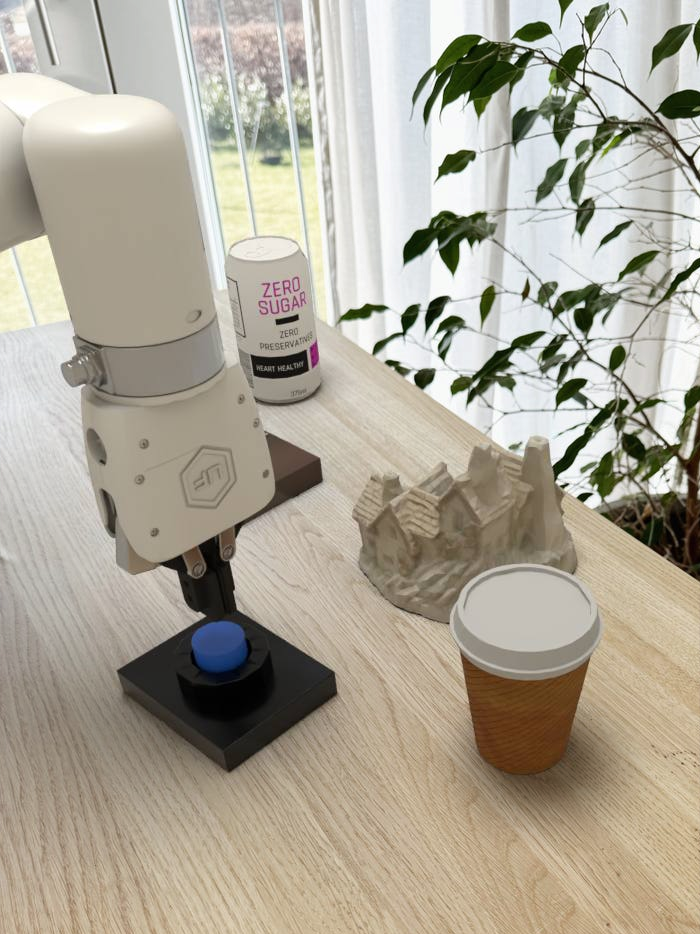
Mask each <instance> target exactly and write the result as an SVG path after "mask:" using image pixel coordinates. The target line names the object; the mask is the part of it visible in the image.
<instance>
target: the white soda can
mask: <svg viewBox="0 0 700 934" xmlns="http://www.w3.org/2000/svg"><path fill="white" fill-rule="evenodd" d="M223 269H224V274H225V281H226V287H227V292H228V298H229V304H230V305H229V306H230V310H231V311H230V312H231V316H232V321H233V327H234V335H235V339H236V345H237V351H238V357H239V358H238V359H239V363H240V365H241V367H242V369H243V372H244V374H245V376H246V379H247V381H248V384H249V386H250V389H251V391H252V394H253V397H254V399H257V400H258V401H262V402H265V403H269V404H288V403H294V402H297V401H298V402H299V401H301V400H303V399H306V398H309V397H310V396H311V395H312V394H313V393H314V392H315V391H316V390H317V388H318V387H319V386H320V385H321V382H322V371H321V361H320V354H319V345H318V337H317V336H318V335H317V327H316V319H315V318H316V317H315V309H314V300H313V292H312V291H313V290H312V282H311V274H310V273H311V272H310V264H309V260H308V257H307V256H306V255H305V253H304V251H303V250H302V248H301V244H300V243H299V241H297V240H296V239H294V238H292V237H288V236H284V235H275V234H274V235H273V234H265V235H254V236H250V237H245V238H242V239H239V240H236V241H235V242H233V243H231V244H230V245H229V246H228V249H227V255H226V258H225V260H224V264H223Z"/></svg>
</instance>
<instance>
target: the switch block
mask: <svg viewBox="0 0 700 934" xmlns="http://www.w3.org/2000/svg"><path fill="white" fill-rule="evenodd" d="M221 621H227V622H232V623H235V624H237V625H239V626H240V627H241V628H242V629H243V631H244V634H245V639H246V644H247V649H248V656H247V659H246V661H245V662H244V663H243V664H241V665H240V666H238V667H237V668H235V669H233V670H229V671H224V672H220V673H213V672H206V671H204V670H202V669H201V668H199V666H198V665H197V663H196V660H195V656H194V652H193V648H192V643H191V641H192V637H193V635H194V634H195V632H196V631H197V630H198V629H200V628H201V627H203V626H205V625H207V624H210V623H213V622H215V621H213V620H212V619H210V618H209V617H207V616H204V617H202V618H201V619H199V620H196V621H195V622H194V623H192V624H191V625H189V626H188V627H186V628H184V629H182V630H180V631H179V632H178V633H175V634H174V635H173V636H171V637H169V638H168V639H166V640H165V641H162V642H161V643H159V644H158V645H156V646H154V647H153V648H151V649H149V650H148V651H146V652H145V653H143V654H141V655H140V656H138V657H136V658H134V659H133V660H131V661H129V662H128V663H126V664H125V665H123V666H121V667H120V668H118V669H116V673H117V677H118V680H119V682H120V683H119V684H120V685H121V686H120V687H121V689H122V691H123V694H125V695H127V697H129V698H130V699H131V700H132V701H134V702H135V703H137V704H138V705H139V706H141V708H143V709H145V710H146V711H147V712H148V713H149V714H151V715H152V716H154V717H155V718H157V719H158V720H159V721H160V722H161V723H163V724H164V725H166V727H168V728H170V729H171V730H172V731H173V732H175V733H176V734H177V735H179V736H180V737H181V738H182V739H184V740H185V741H187V742H188V743H189V744H191V745H192V746H193V747H194V748H196V749H197V750H198V751H199V752H201V753H202V754H203V755H204V756H206V757H208V759H210V760H211V761H212V762H214V763H215V764H216V765H218V766H219V767H220V768H222V769H223V770H224V771H225V772H227V773H228V774H229V773H231V772H232V771H234V770H235V769H237V768H238V767H239V766H240V765H242V764H244V762H246V761H247V760H249V759H250V758H252V757H253V756H254V755H255V754H257V753H258V752H259V751H261V750H262V749H264V748H265V747H266V746H268V745H269V744H271V743H272V742H273V741H275V740H276V739H278V738H279V737H280V736H282V735H283V734H284V733H286V732H287V731H289V730H290V729H291V728H293V727H294V726H295V725H297V724H298V723H299V722H301V721H303V720H304V719H305V718H306V717H308V716H309V715H310V714H312V713H314V711H317V710H318V709H319V708H320V707H321V706H323V705H324V704H326V703H327V702H329V701H330V700H332V698H334V697H336V695H338V687H337V678H336V672H335V671H334V670H332V669H331V668H329V667H328V666H326V665H325V664H324V663H322V662H320V661H318V660H317V659H315V658H314V657H312V656H311V655H309V654H307V653H306V652H304V651H303V650H301V649H300V648H298V647H297V646H295V645H294V644H292V643H290V642H288V641H287V640H285V638H283V637H281V636H279V635H277V634H276V633H274V632H273V631H272V630H270V629H268V628H267V627H265V626H263V625H262V624H261V623H259V622H257V621H256V620H254V619H253V618H252V617H250V616H248V615H246V614H245V613H243V612H242V611H240V610H238V609H237V611H235V612H234V613H232V614H231V615H229V614H225V616H224V619H222V620H221Z"/></svg>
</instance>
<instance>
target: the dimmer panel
mask: <svg viewBox="0 0 700 934" xmlns="http://www.w3.org/2000/svg"><path fill="white" fill-rule="evenodd" d="M264 433H265V437H266V440H267V444H268V449H269V453H270V457H271V462H272V467H273V473H274V479H275V493H274V496H273V498H272V499H271V501H270V502H269V503H268V504H267V505H266V506H265V507H264V508H262V509H261V510H260V511H258V512H256V513H255V514H253V515H251V516H250V517H248V518H246V519H245V521H244V523H243V525H242V526H244V525H246V524H248V523H249V522H251V521H253V520H255V519H257V518H258V517H260V516H262V515H264V514H265V513H268V512H269V511H271V510H273V509H275V508H276V507H278V506H280V505H282V504H283V503H285V502H288V501H290V500H291V499H293V498H295V497H296V496H298V495H301V494H302V493H303V492H306V491H307V490H309V489H311V488H313V487H315V486H316V485H318V484H320V483H321V482H323V481H324V476H323V469H322V460H321V457H319V456H318V455H315V454H313V453H311V452H310V451H307V450H305V449H303V448H301V447H299V446H297V445H295V444H293V443H291V442H289V441H287V440H285V439H283V438H281V437H279V436H277V435H275V434H273V433H271V432H268V431H267V430H265V429H264Z"/></svg>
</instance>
